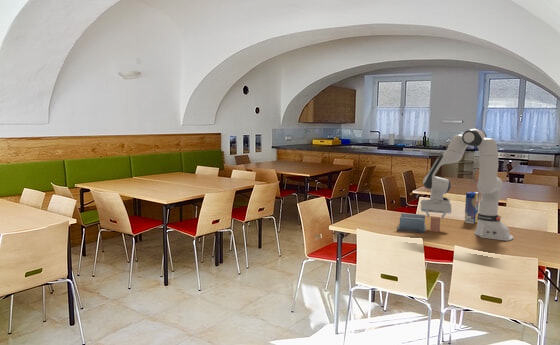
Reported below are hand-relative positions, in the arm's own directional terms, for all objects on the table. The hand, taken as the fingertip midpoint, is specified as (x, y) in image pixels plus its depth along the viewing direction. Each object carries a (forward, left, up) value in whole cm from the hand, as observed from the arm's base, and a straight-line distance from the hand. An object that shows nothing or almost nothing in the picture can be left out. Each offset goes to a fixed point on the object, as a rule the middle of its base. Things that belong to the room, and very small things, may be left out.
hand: (435, 216), depth 296 cm
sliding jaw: (+15, +2, -7) cm, 17 cm away
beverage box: (-11, -43, -9) cm, 46 cm away
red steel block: (-1, +4, -9) cm, 10 cm away
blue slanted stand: (+13, +9, -9) cm, 18 cm away
